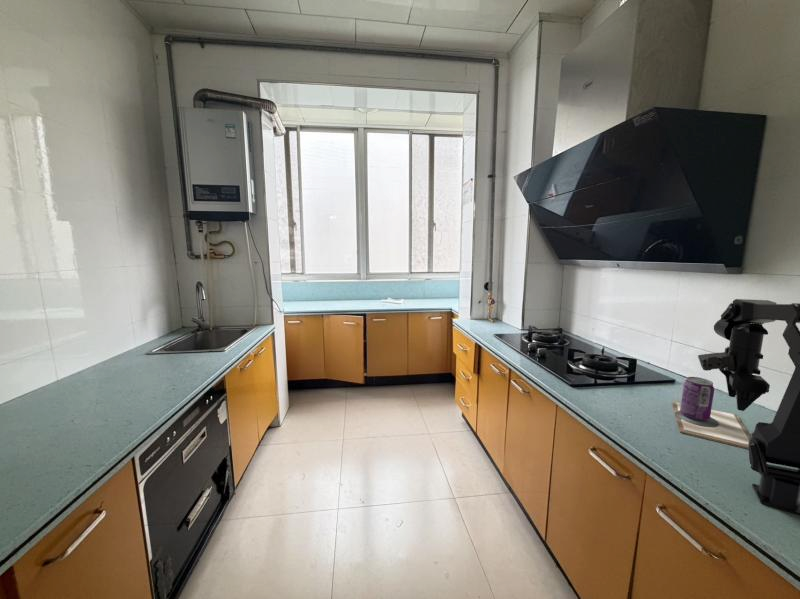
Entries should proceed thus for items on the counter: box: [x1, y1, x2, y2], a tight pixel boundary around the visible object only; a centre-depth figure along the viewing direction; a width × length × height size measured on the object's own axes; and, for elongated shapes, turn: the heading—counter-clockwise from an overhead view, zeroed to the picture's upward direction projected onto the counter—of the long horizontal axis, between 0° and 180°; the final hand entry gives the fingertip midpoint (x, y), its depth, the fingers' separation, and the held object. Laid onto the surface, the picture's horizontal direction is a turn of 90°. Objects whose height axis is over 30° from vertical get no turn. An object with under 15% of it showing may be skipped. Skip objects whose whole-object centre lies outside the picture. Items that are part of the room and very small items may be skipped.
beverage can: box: [680, 376, 715, 420], centre depth 102 cm, size 7×7×12 cm
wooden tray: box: [671, 401, 752, 450], centre depth 100 cm, size 22×16×1 cm
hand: (735, 403), depth 86 cm, fingers open, 9 cm apart
